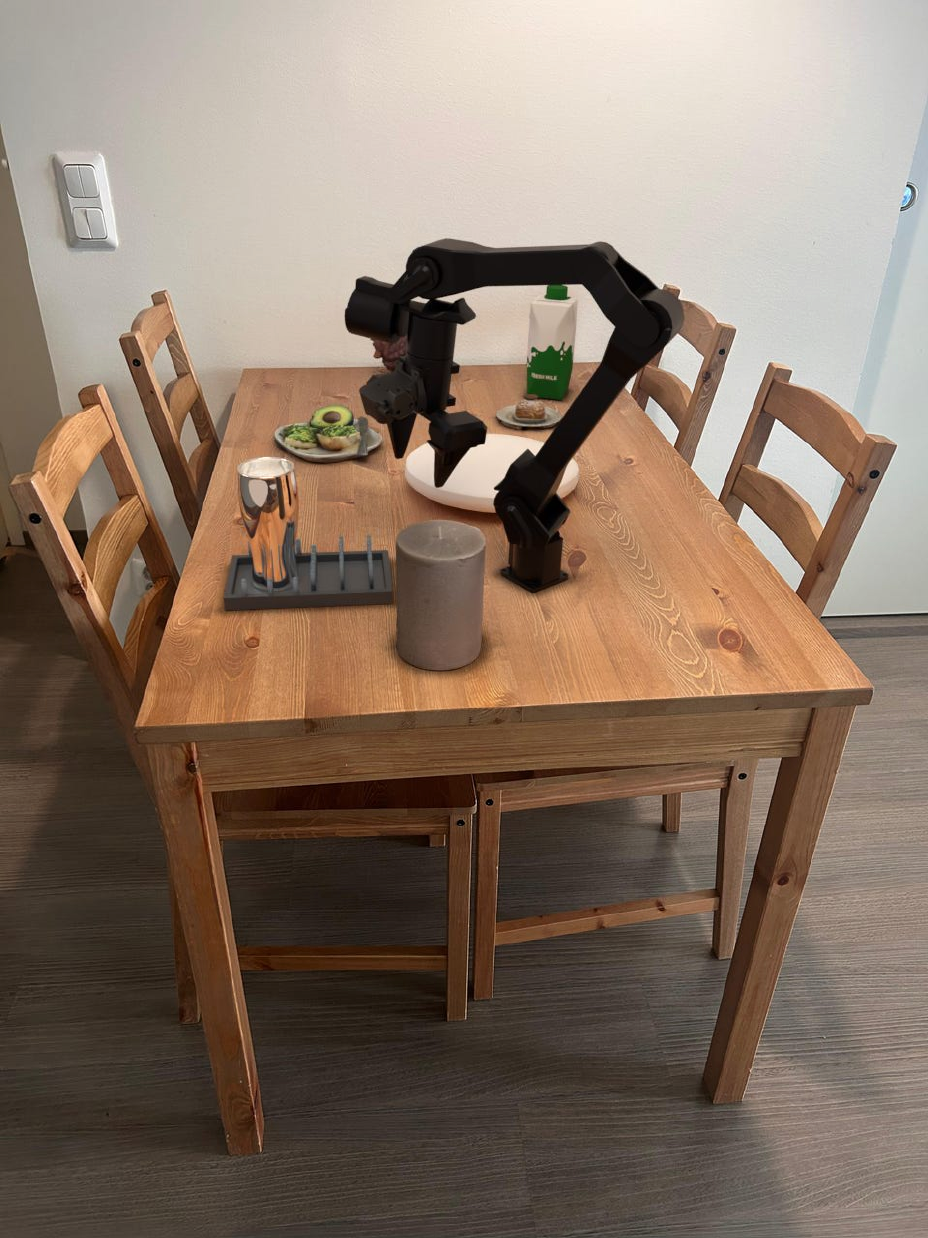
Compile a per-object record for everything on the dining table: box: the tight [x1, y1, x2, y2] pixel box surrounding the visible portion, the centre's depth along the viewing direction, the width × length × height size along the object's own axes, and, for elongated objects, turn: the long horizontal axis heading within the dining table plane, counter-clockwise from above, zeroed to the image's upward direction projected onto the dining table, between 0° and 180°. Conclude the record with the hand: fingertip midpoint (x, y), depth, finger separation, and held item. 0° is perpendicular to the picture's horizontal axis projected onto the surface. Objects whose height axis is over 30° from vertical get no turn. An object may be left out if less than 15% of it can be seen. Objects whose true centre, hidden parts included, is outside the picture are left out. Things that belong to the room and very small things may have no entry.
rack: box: [223, 534, 394, 612], centre depth 115 cm, size 20×11×5 cm, turn 97°
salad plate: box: [273, 404, 383, 464], centre depth 156 cm, size 19×18×5 cm
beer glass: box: [236, 456, 301, 591], centre depth 112 cm, size 7×7×15 cm
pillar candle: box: [395, 519, 487, 671], centre depth 101 cm, size 10×10×15 cm
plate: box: [404, 433, 580, 514], centre depth 142 cm, size 28×6×27 cm
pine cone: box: [370, 335, 407, 373], centre depth 192 cm, size 18×10×10 cm
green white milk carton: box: [526, 285, 579, 401], centre depth 180 cm, size 9×9×20 cm
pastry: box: [496, 394, 562, 431], centre depth 170 cm, size 12×12×5 cm
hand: (418, 472), depth 119 cm, fingers open, 9 cm apart
